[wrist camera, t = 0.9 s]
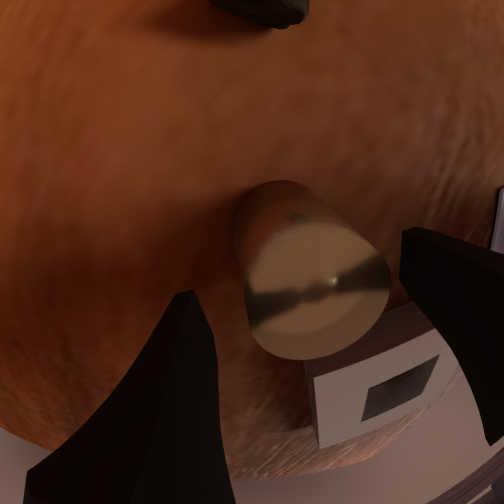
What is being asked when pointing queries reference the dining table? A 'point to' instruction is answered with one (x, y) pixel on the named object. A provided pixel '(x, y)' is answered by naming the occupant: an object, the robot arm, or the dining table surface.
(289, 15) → the hand tool
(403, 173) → the dining table surface
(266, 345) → the cylinder
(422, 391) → the square stone frame
